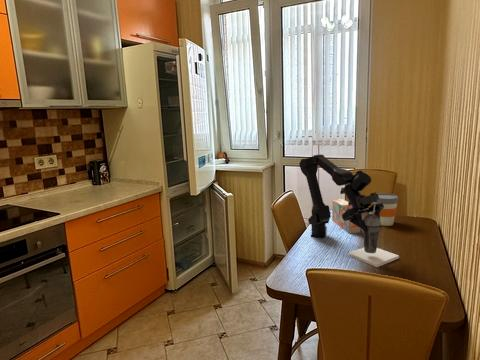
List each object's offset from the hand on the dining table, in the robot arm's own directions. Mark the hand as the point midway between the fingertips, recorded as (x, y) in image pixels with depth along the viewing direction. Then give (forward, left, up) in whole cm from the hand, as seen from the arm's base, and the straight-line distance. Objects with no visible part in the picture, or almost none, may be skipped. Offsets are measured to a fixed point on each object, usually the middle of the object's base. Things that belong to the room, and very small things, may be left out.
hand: (373, 229), depth 138 cm
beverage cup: (-1, +1, -10) cm, 10 cm away
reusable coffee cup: (+1, +52, -13) cm, 54 cm away
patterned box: (-17, +40, -14) cm, 45 cm away
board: (0, +4, -13) cm, 14 cm away
